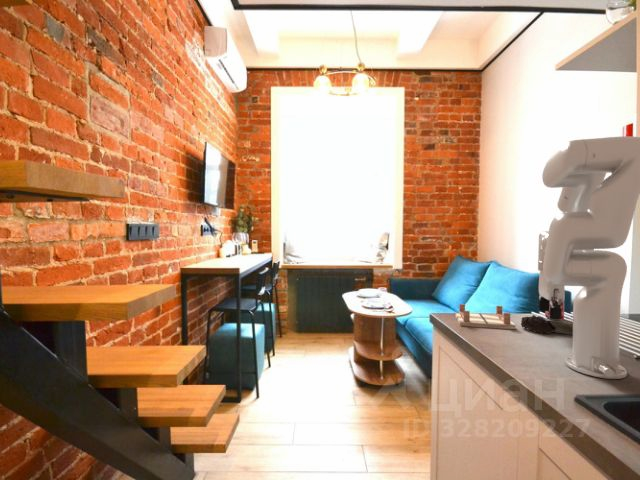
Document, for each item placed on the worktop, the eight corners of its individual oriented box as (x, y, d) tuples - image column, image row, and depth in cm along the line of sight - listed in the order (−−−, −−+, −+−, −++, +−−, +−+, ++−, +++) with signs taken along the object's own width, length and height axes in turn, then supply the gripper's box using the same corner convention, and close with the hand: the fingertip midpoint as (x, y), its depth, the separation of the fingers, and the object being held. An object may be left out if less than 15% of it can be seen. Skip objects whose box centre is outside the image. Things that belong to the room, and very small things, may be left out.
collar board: (515, 329, 121) (515, 314, 121) (460, 325, 126) (460, 311, 126) (505, 318, 135) (505, 305, 134) (455, 316, 140) (455, 303, 139)
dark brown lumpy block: (579, 334, 115) (580, 318, 115) (583, 340, 110) (583, 324, 109) (520, 326, 124) (521, 312, 124) (521, 332, 119) (521, 316, 118)
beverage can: (561, 322, 129) (562, 291, 129) (543, 319, 134) (543, 289, 133) (565, 318, 133) (566, 289, 133) (547, 316, 138) (547, 287, 137)
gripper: (575, 271, 106) (573, 323, 107) (552, 263, 122) (551, 308, 124) (548, 270, 108) (546, 321, 109) (530, 262, 124) (528, 307, 126)
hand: (549, 314), depth 116 cm, fingers open, 9 cm apart
